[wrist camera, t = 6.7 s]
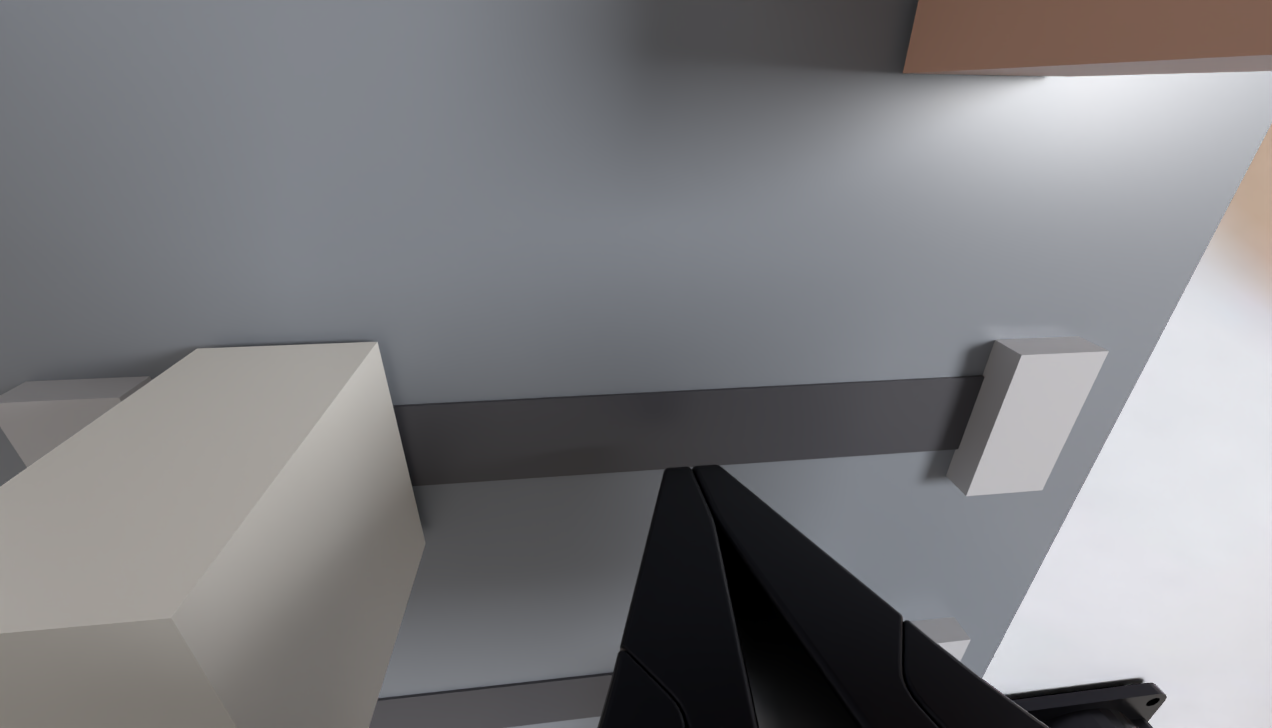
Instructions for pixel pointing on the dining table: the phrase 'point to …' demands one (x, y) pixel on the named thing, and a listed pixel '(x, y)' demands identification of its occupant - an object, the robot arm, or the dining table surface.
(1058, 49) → the salmon pink cuboid
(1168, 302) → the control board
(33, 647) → the ivory cuboid
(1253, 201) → the dining table surface
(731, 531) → the robot arm
